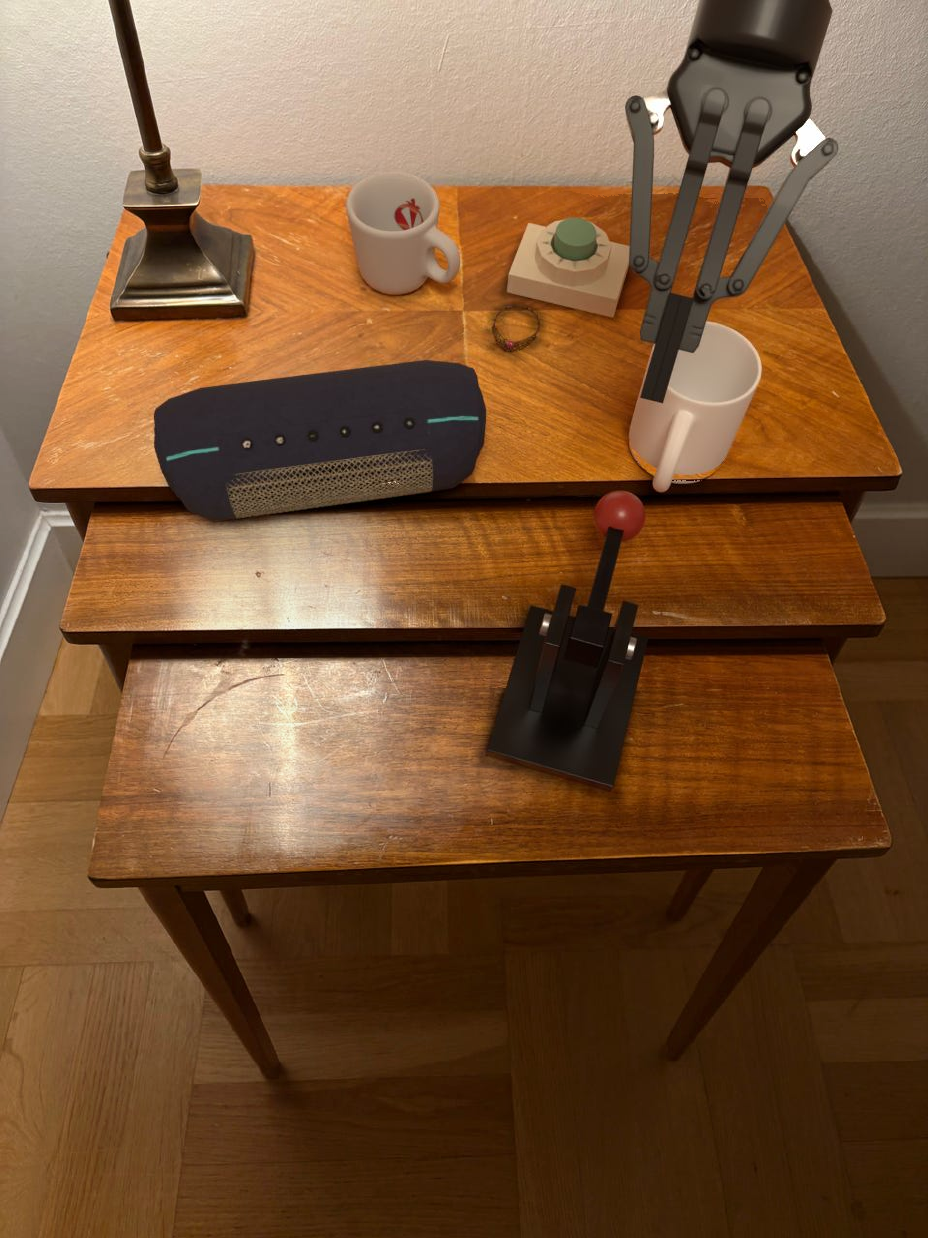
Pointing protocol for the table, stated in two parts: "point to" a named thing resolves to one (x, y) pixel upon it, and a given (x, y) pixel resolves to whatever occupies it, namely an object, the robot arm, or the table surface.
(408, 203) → the cup
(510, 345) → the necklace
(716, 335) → the mug
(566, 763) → the lever base
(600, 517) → the lever
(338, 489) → the portable speaker
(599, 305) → the button block
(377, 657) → the table surface
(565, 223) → the button
